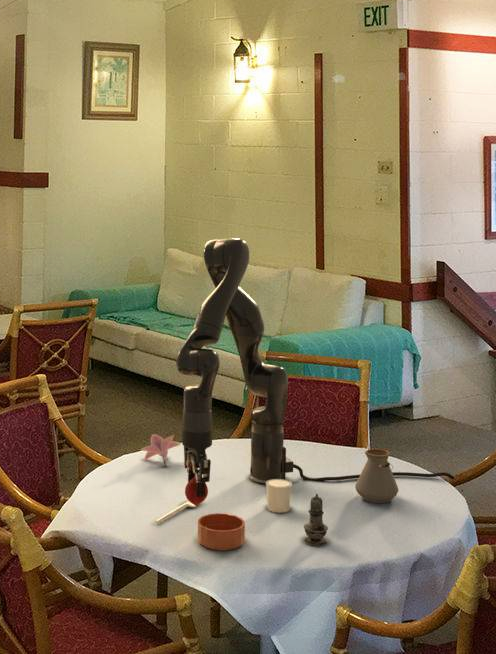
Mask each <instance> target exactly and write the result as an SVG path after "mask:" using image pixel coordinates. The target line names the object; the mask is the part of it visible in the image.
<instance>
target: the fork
mask: <svg viewBox="0 0 496 654" xmlns="http://www.w3.org/2000/svg"><path fill="white" fill-rule="evenodd" d="M187 507H189V508H196V507H197V506H196V505H194V504H192V503H191V502H190V501H189V500H187V502H184V503H182V504H181V505H179V506H177V507H176V508H174V509H173V510H171V511H169V512H168V513H165V514H164V515H162V516H161V517H159V518H157V519H156V520H155V523H156V524H159V523H161V522H162V521H164V520H166V519H168V518H169V517H171V516H173V515H175V514H176V513H179V512H180V511H181V510H183V509H186V508H187Z"/></svg>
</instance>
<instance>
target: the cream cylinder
mask: <svg viewBox="0 0 496 654" xmlns="http://www.w3.org/2000/svg"><path fill="white" fill-rule="evenodd" d="M265 487H266V503H267V504H266V505H267V510H268V511H270V512H272V513H280V514H281V513H286V512H288V511H290V505H291V504H290V503H291V496H292V490H293V489H292V488H293V483H292V481H290V480H287V479H285V480H283V479H271V480H268V481H267V482H266V484H265Z"/></svg>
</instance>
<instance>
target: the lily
mask: <svg viewBox="0 0 496 654" xmlns="http://www.w3.org/2000/svg"><path fill="white" fill-rule="evenodd" d="M174 437H175V434H172V435H169V436H167V437H165V438H164V437H162V436H160V435H159V434H156V433H152V434H151V436H150V445H147V446H144V447H142V448H140V451H144V452H146V454H145V455H144V458H143V459H144V461H146V460H148V459H150V458H152V457H155V456H156V455H158V456H160V457H162V460H163V463H164V467H167V465H166V460H165V459H167V458H168V454H169V450H170V449H173V448H175V447H176V448H177V447H179V446H181V445H182V442H179V441H176V440H174Z"/></svg>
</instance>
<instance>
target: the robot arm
mask: <svg viewBox="0 0 496 654" xmlns="http://www.w3.org/2000/svg"><path fill="white" fill-rule="evenodd" d="M250 255H251V254H250V247H249V245H248V243H247V242H246V241H245V240H244V239H243V238H215V239H210V240H207V242H206V243H205V244H204V247H203V260H204V264H205V268H206V270H207V272H208V275H209V277H210V279H211V281H212V284H213V285H214V287H215V288H214V289H213V291H212V292H211V293H210V294H209V295H208V296H207V297H206V298H205V300H204V301H203V302H202V304H201V305H200V307H199V309H198V311H197V313H196V317H195V320H194V324H193V328H192V330H191V332H190V334H189V335H188V337H187V338H186V339H185V342H184V343H183V345H182V346H181V347H180V350H179V351H178V353H177V356H176V359H175V360H176V369H177V371H178V373H180V374H181V375H183V376H188V377H199V378H201V381H200V383H193V384H189V385H187V386H185V387H184V389H183V404H182V405H183V406H182V408H183V411H182V417H181V445H182V446H183V460H184V469H186V473H187V483H188V482H189V481H190V480H191V479H193V478H194V477H195V475H196V496H197V497H204V496H205V492H206V485H207V483H210V478H211V464H212V463H211V462H212V461H211V459H210V458H209V459H208V455H207V452H206V450H207V449H209V448H211V447H212V445H213V413H212V407H213V403H212V402H213V401H212V400H213V391H214V386H215V382H216V378H217V376H218V371H219V368H220V364H221V363H220V356H219V354H218V353H217V352H216V351H215V350H214V349H210V348H205V347H208V346H213V345H216V344H217V343H219V340H220V337H221V335H222V330H223V328H224V327H223V326H224V323H225V319H226V321H227V324H228V326H229V330H230V333H231V334H232V337H233V340H234V342H235V346H236V349H237V352H238V356H239V361H240V364H241V369H242V373H243V378H244V382H245V385H246V388H247V390H248V391H249V392H250V393H251V394H253V395H254V396H259V397H262V398H266V401H265V405H263V406H258V407H255V408H253V409H252V410H251V420H250V421H251V424H250V425H251V427H250V434H251V435H250V467H249V479H250V480H251V481H252V482H254V483H258V484H264V485H266V482H267V481H268V480H271V479H283V480H286V477H287V475H286V474H287V473H288V474H289V473H294V469H296V470H298V472H299V476H300V478H301V479H302V480H305V481H310V482H311V481H312V482H327V481H342V480H343V481H345V480H353V479H359V477H360V475H361V473H360V474H350V475H342V476H341V475H340V476H322V477H308V476H307V475H305V474H304V472H303V468H301V467H300V466H299V465H298V464H295V463H294V461H293V460H292V459H290V458H289V457H288V456H287V448H286V447H285V446H284V441H285V440H284V439H285V438H284V433H285V432H284V431H285V415H286V411H287V406H288V405H287V404H288V403H287V402H288V389H289V376H288V375H289V374H288V372H287V371H286V369H285V368H284V367H283V366H278V365H273V364H268V363H264V362H263V361H262V358H261V356H260V352H259V347H260V344H261V342H262V339H263V336H264V334H265V323H264V319H263V316H262V312H261V310H260V307H259V305H258V304H257V302H256V301H255V300H254V299H253V298H252V296H251V295H249V294H248V293H247V292H246V291H245V290H244V289H243V288H242V287H240V284H241V283H242V280H243V278H244V276H245V274H246V272H247V269H248V266H249V263H250ZM392 473H393V476H394V477H397V476H398V477H399V476H400V477H419V478H436V477H448V478H449V479H450V480H455V479H456V478H455V476H453V474H451V473H449V472H444V471H443V472H434V473H423V472H422V473H421V472H405V471H404V472H403V471H392Z"/></svg>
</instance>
